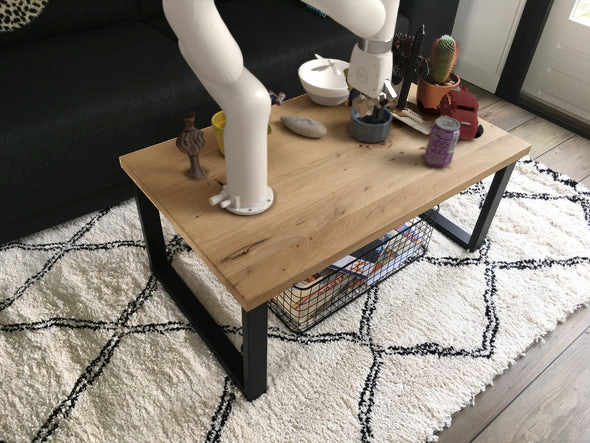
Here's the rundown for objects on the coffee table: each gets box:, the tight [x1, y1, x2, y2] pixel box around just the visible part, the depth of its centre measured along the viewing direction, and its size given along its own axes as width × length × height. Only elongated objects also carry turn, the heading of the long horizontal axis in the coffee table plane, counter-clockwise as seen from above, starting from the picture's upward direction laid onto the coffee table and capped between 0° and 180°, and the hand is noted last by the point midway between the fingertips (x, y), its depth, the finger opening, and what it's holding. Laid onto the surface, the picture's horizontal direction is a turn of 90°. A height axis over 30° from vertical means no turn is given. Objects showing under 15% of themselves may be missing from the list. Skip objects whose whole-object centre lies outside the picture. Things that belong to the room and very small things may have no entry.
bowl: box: [297, 58, 350, 107], centre depth 156 cm, size 19×20×8 cm
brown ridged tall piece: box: [175, 110, 207, 180], centre depth 122 cm, size 7×5×18 cm
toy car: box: [436, 83, 485, 140], centre depth 148 cm, size 15×28×10 cm, turn 177°
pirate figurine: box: [266, 88, 287, 137], centre depth 138 cm, size 14×13×15 cm
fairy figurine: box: [311, 53, 340, 77], centre depth 151 cm, size 6×7×7 cm
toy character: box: [351, 94, 376, 118], centre depth 122 cm, size 4×8×6 cm
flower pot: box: [211, 110, 226, 156], centre depth 132 cm, size 10×10×10 cm
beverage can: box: [423, 116, 460, 168], centre depth 132 cm, size 7×7×12 cm
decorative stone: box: [279, 115, 328, 138], centre depth 143 cm, size 6×16×3 cm, turn 60°
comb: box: [390, 107, 435, 135], centre depth 148 cm, size 15×2×10 cm
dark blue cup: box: [348, 107, 393, 144], centre depth 143 cm, size 12×12×6 cm
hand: (364, 112), depth 123 cm, fingers closed on toy character, 7 cm apart
